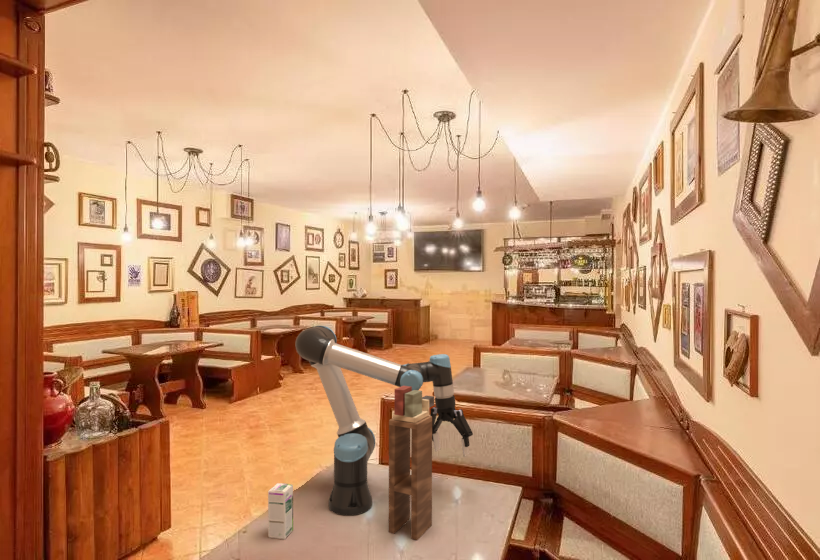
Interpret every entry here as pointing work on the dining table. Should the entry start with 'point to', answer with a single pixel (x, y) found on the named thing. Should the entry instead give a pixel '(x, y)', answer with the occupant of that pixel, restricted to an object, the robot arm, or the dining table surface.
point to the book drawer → (411, 404)
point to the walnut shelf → (410, 476)
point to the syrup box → (280, 511)
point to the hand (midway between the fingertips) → (451, 452)
